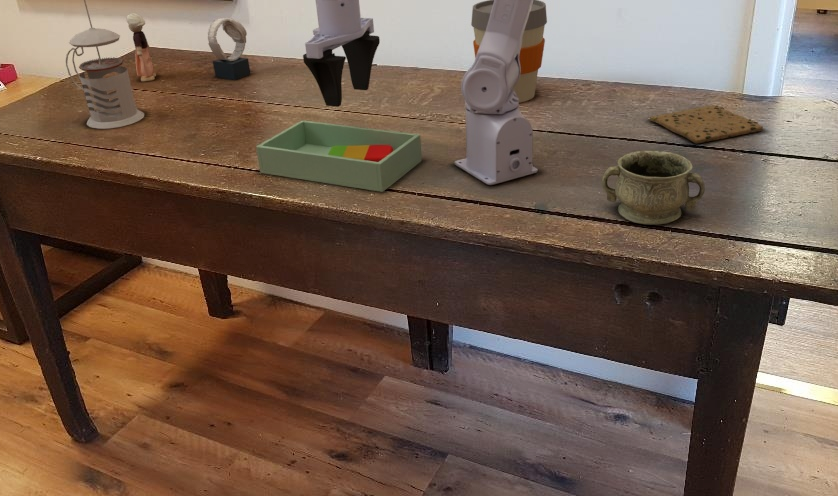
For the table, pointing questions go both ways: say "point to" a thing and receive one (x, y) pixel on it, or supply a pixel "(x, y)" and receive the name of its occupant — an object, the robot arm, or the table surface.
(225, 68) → the watch
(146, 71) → the grandmother figurine
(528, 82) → the reusable coffee cup
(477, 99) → the robot arm
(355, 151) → the popsicle
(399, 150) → the tote
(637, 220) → the vessel
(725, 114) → the cookie
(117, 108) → the french press
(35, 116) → the table surface
